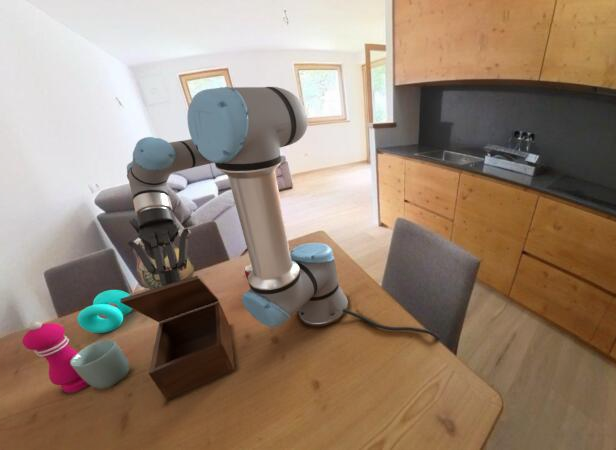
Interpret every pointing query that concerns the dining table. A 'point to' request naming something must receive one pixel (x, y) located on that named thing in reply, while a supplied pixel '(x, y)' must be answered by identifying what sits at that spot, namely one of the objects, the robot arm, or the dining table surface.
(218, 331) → the chest
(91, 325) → the donuts
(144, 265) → the robot arm
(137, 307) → the lid
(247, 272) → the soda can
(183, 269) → the ceramic jug
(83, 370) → the cup
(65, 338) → the pepper mill
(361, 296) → the dining table surface
